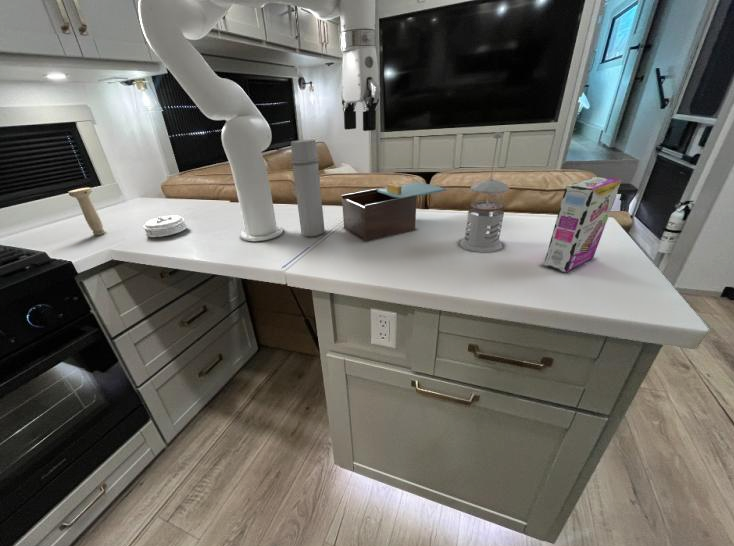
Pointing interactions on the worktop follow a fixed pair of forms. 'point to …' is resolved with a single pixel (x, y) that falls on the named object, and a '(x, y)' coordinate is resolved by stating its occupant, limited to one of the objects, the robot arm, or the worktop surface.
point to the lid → (164, 226)
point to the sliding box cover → (410, 190)
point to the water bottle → (307, 186)
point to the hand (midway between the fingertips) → (359, 129)
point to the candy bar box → (580, 222)
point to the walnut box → (378, 214)
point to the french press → (485, 216)
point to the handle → (88, 209)
